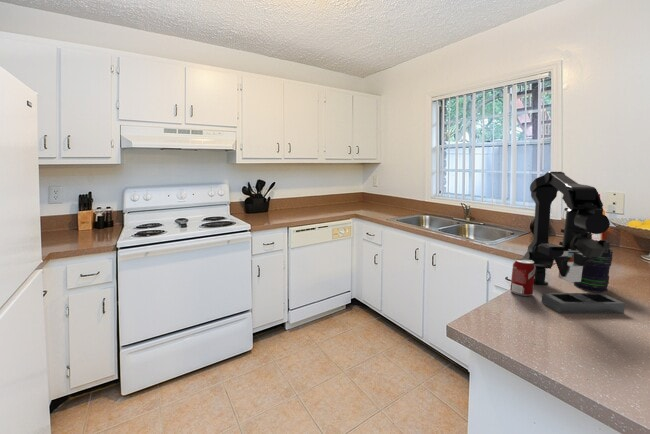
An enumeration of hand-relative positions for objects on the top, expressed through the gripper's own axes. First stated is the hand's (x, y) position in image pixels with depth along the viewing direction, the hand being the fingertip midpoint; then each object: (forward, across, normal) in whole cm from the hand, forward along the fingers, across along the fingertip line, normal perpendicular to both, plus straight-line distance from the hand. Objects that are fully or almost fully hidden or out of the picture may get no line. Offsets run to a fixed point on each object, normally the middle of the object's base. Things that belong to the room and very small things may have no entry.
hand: (569, 276), depth 99 cm
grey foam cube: (+1, 0, 0) cm, 1 cm away
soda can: (+10, -7, +11) cm, 17 cm away
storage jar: (+11, +23, +17) cm, 31 cm away
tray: (+10, +5, 0) cm, 11 cm away
